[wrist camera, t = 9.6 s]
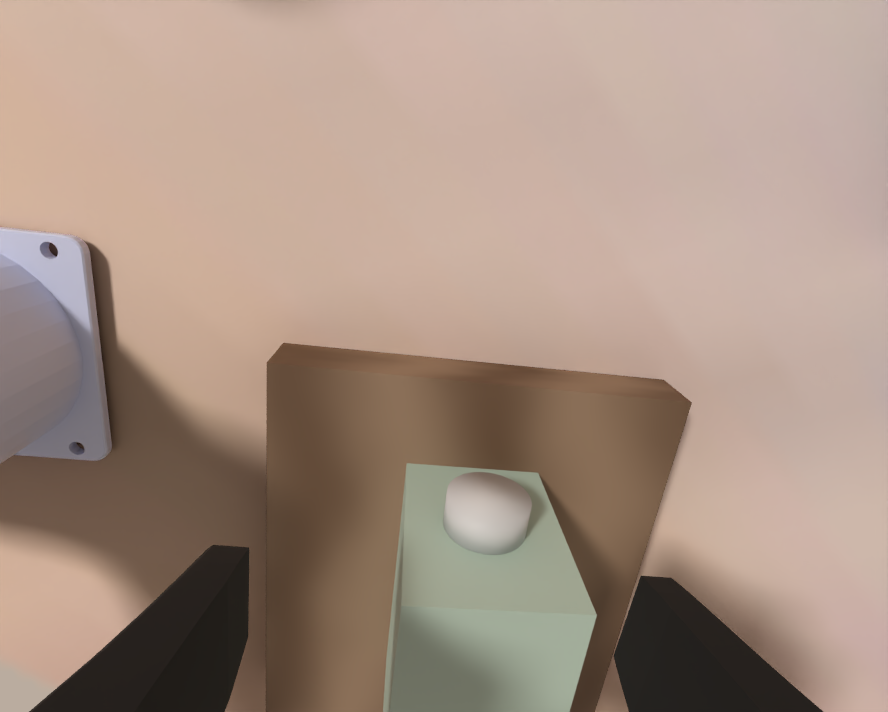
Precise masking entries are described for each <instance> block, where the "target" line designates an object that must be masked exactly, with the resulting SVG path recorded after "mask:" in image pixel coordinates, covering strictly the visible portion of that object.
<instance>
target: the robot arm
mask: <svg viewBox="0 0 888 712" xmlns="http://www.w3.org/2000/svg"><path fill="white" fill-rule="evenodd" d="M49 243H53V244H54V245H55V246H56V248H57V250H58V255H57V256H54V255H53V254H52V253H51V252H50V250H49ZM76 442H79V443H81V444H82V445H83V446H84V448H85V449H82V448H80V447H79V446H78V445H77V443H76ZM111 450H112V441H111V432H110V424H109V415H108V406H107V397H106V389H105V380H104V371H103V362H102V354H101V345H100V336H99V327H98V319H97V310H96V301H95V292H94V284H93V275H92V266H91V257H90V251H89V248H88V246H87V244H86V243H85V242H84V241H83V240H82V239H81V238H79V237H77V236H74V235H69V234H60V233H51V232H42V231H33V230H24V229H15V228H6V227H0V464H1V463H2V462H4V461H5V460H7V459H8V458H10V457H11V456H13V455H21V456H34V457H48V458H61V459H75V460H88V461H99V460H101V459H103V458H105V457H106V456H107V455H108V454H109V453H110V452H111ZM248 602H249V548H247V547H233V546H219V545H213V546H211V547H210V548H209V549H207V550H206V551H205V552H204V553H203V554H202V555H201V556H200V557H199V558H198V559H197V560H196V561H195V562H194V563H193V564H192V565H191V566H190V567H189V568H188V569H187V570H186V571H185V572H184V573H183V574H182V575H181V576H180V577H179V578H178V579H177V580H176V581H175V582H174V583H173V584H171V585H170V586H169V587H168V588H167V589H166V590H165V591H164V592H163V593H162V594H161V595H160V596H159V597H158V598H157V599H156V600H155V601H154V602H153V603H152V604H151V605H150V606H149V607H147V608H146V609H145V610H144V611H143V612H142V613H141V614H140V615H139V616H138V617H137V618H136V619H135V620H133V621H132V622H131V623H130V624H129V625H128V626H127V627H126V628H125V629H124V630H123V631H121V632H120V633H119V634H118V635H117V636H116V637H115V638H114V639H113V640H112V641H111V642H109V643H108V644H107V645H106V646H105V647H104V648H103V649H102V650H101V651H100V652H98V653H97V654H96V655H95V656H94V657H93V658H92V659H91V660H89V661H88V662H87V663H86V664H85V665H84V666H82V667H81V668H80V669H79V670H78V671H77V672H75V673H74V674H73V675H72V676H71V677H69V678H68V679H67V680H66V681H65V682H64V683H62V684H61V685H60V686H59V687H58V688H57V689H55V690H54V691H53V692H52V693H51V694H49V695H48V696H47V697H46V698H45V699H44V700H42V701H41V702H40V703H39V704H38V705H37V706H35V707H34V708H33V709H32V710H31V711H29V712H224V711H225V709H226V706H227V704H228V701H229V698H230V695H231V692H232V689H233V685H234V682H235V679H236V676H237V672H238V669H239V666H240V662H241V659H242V655H243V652H244V649H245V645H246V642H247V638H248ZM614 659H615V663H616V667H617V670H618V674H619V678H620V682H621V685H622V689H623V692H624V696H625V699H626V703H627V706H628V709H629V712H823V711H822V710H821V709H819V708H818V707H817V706H816V705H815V704H814V703H812V702H811V701H810V700H809V699H808V698H807V697H805V696H804V695H803V694H802V693H801V692H800V691H799V690H797V689H796V688H795V687H794V686H793V685H792V684H791V683H789V682H788V681H787V680H786V679H785V678H784V677H783V676H781V675H780V674H779V673H778V672H777V671H776V670H775V669H774V668H772V667H771V666H770V665H769V664H768V663H767V662H766V661H765V660H763V659H762V658H761V657H760V656H759V655H758V654H757V653H756V652H754V651H753V650H752V649H751V648H750V647H749V646H748V645H747V644H746V643H744V642H743V641H742V640H741V639H740V638H739V637H738V636H737V635H736V634H735V633H733V632H732V631H731V630H730V629H729V628H728V627H727V626H726V625H725V624H724V623H722V622H721V621H720V620H719V619H718V618H717V617H716V616H715V615H714V614H712V613H711V612H710V611H709V610H708V609H707V608H706V607H705V606H704V605H702V604H701V603H700V602H699V601H698V600H697V599H696V598H695V597H693V596H692V595H691V594H690V593H689V592H688V591H686V590H685V589H684V588H683V587H682V586H681V585H679V584H678V583H677V582H676V581H675V580H673V579H672V578H664V577H650V576H641V577H640V580H639V583H638V586H637V589H636V592H635V595H634V598H633V601H632V604H631V607H630V610H629V613H628V615H627V618H626V621H625V624H624V627H623V630H622V633H621V636H620V639H619V642H618V645H617V648H616V651H615V654H614Z"/></svg>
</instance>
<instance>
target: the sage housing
mask: <svg viewBox="0 0 888 712" xmlns="http://www.w3.org/2000/svg"><path fill="white" fill-rule="evenodd" d="M596 617H597V614H596V612H595V609H594V607H593V605H592V602H591V600H590V597H589V595H588V592H587V590H586V588H585V585H584V583H583V580H582V578H581V576H580V573H579V571H578V568H577V566H576V563H575V561H574V559H573V556H572V554H571V551H570V549H569V546H568V544H567V542H566V539H565V537H564V534H563V532H562V530H561V527H560V525H559V522H558V520H557V517H556V515H555V513H554V510H553V508H552V505H551V503H550V501H549V498H548V496H547V493H546V491H545V488H544V486H543V484H542V481H541V479H540V476H539V474H538V473H534V472H520V471H506V470H493V469H479V468H465V467H452V466H438V465H424V464H411V463H407V465H406V475H405V484H404V494H403V503H402V513H401V523H400V532H399V542H398V551H397V561H396V571H395V580H394V590H393V599H392V609H391V619H390V628H389V638H388V647H387V657H386V672H385V687H384V703H383V712H570V708H571V705H572V701H573V698H574V694H575V691H576V687H577V684H578V680H579V677H580V673H581V670H582V666H583V663H584V659H585V656H586V652H587V648H588V645H589V641H590V638H591V634H592V631H593V627H594V624H595V620H596Z"/></svg>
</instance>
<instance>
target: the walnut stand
mask: <svg viewBox="0 0 888 712" xmlns="http://www.w3.org/2000/svg"><path fill="white" fill-rule="evenodd" d="M691 403H692V402H690V401H689V400H688V399H687V398H685V397H684V396H683V395H682V394H681V393H679V392H678V391H677V390H676V389H674V388H673V387H672V386H671V385H669V384H668V383H667V382H666V381H664V380H659V379H648V378H638V377H628V376H617V375H607V374H597V373H586V372H576V371H566V370H556V369H545V368H535V367H525V366H514V365H504V364H494V363H483V362H473V361H463V360H452V359H442V358H432V357H421V356H411V355H401V354H390V353H380V352H370V351H359V350H349V349H339V348H328V347H318V346H308V345H298V344H287V343H283V344H282V345H281V346H280V348H279V349H278V350H277V351H276V353H275V354H274V355H273V356H272V357H271V359H270V360H269V361H268V362H267V486H266V712H383V703H384V687H385V672H386V657H387V647H388V638H389V628H390V619H391V609H392V599H393V590H394V580H395V571H396V561H397V551H398V542H399V532H400V523H401V513H402V503H403V494H404V484H405V475H406V465H407V463H411V464H424V465H438V466H452V467H465V468H479V469H493V470H506V471H520V472H534V473H538V474H539V476H540V479H541V481H542V484H543V486H544V488H545V491H546V493H547V496H548V498H549V501H550V503H551V505H552V508H553V510H554V513H555V515H556V517H557V520H558V522H559V525H560V527H561V530H562V532H563V534H564V537H565V539H566V542H567V544H568V546H569V549H570V551H571V554H572V556H573V559H574V561H575V563H576V566H577V568H578V571H579V573H580V576H581V578H582V580H583V583H584V585H585V588H586V590H587V592H588V595H589V597H590V600H591V602H592V605H593V607H594V609H595V612H596V614H597V617H596V620H595V624H594V627H593V631H592V634H591V638H590V641H589V645H588V648H587V652H586V656H585V659H584V663H583V666H582V670H581V673H580V677H579V680H578V684H577V687H576V691H575V694H574V698H573V701H572V705H571V708H570V712H595V709H596V706H597V702H598V699H599V696H600V693H601V690H602V687H603V683H604V680H605V677H606V674H607V671H608V667H609V664H610V661H611V658H612V655H613V652H614V648H615V645H616V642H617V639H618V636H619V632H620V629H621V626H622V623H623V620H624V617H625V613H626V610H627V607H628V604H629V601H630V597H631V594H632V591H633V588H634V585H635V582H636V578H637V575H638V572H639V569H640V566H641V562H642V559H643V556H644V553H645V550H646V547H647V543H648V540H649V537H650V534H651V531H652V527H653V524H654V521H655V518H656V515H657V512H658V508H659V505H660V502H661V499H662V496H663V492H664V489H665V486H666V483H667V480H668V477H669V473H670V470H671V467H672V464H673V461H674V457H675V454H676V451H677V448H678V445H679V442H680V438H681V435H682V432H683V429H684V426H685V422H686V419H687V416H688V413H689V410H690V407H691Z"/></svg>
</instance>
